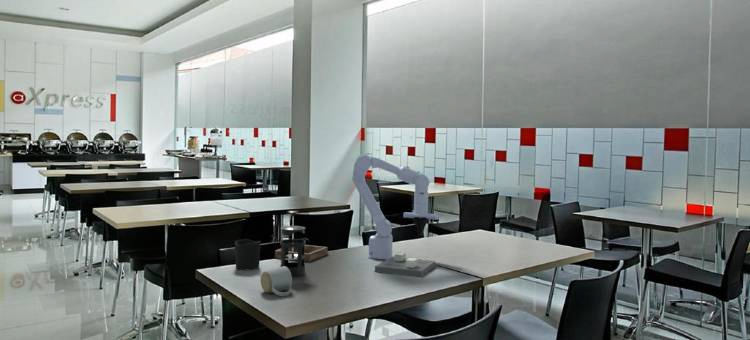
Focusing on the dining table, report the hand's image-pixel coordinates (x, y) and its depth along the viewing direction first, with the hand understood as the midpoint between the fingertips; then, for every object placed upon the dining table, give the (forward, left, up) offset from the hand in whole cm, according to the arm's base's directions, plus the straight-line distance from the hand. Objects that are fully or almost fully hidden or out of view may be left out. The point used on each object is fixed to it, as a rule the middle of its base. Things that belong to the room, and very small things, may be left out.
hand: (420, 235), depth 231 cm
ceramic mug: (-25, -69, -10) cm, 74 cm away
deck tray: (-46, -18, -9) cm, 50 cm away
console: (+1, -21, -9) cm, 23 cm away
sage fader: (-3, -17, -7) cm, 19 cm away
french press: (-34, -46, -10) cm, 58 cm away
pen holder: (-54, -45, -10) cm, 71 cm away
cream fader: (+5, -25, -7) cm, 26 cm away
